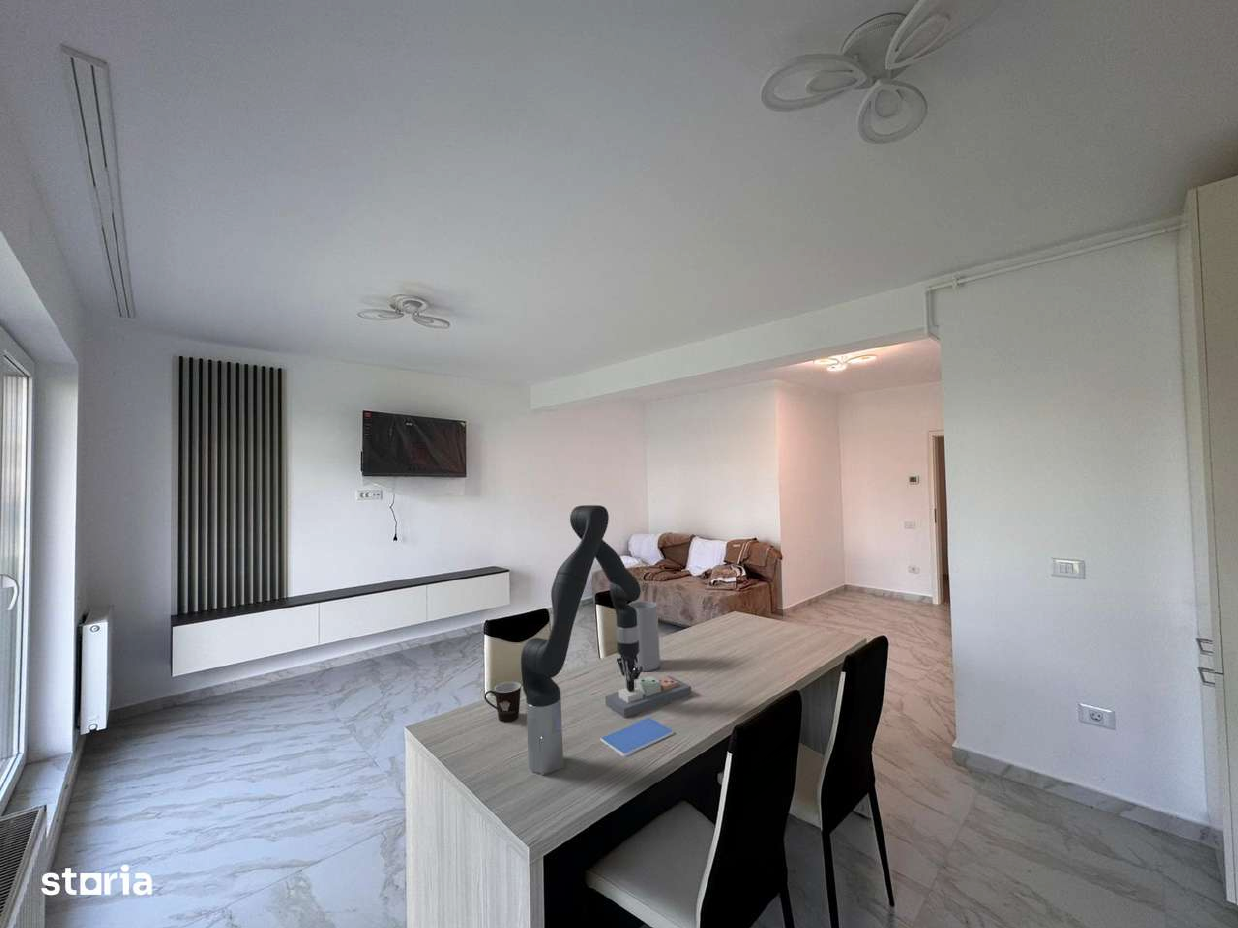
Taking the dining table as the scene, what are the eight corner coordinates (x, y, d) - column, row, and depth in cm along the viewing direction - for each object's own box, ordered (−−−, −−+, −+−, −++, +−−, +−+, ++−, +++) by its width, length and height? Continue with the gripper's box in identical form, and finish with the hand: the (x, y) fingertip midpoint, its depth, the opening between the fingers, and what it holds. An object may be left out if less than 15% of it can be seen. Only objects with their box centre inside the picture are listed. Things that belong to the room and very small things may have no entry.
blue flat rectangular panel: (624, 759, 133) (624, 754, 133) (598, 741, 143) (598, 737, 143) (676, 735, 144) (675, 730, 144) (649, 720, 154) (648, 716, 154)
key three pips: (678, 692, 171) (677, 681, 171) (664, 696, 168) (664, 685, 168) (667, 686, 176) (667, 676, 176) (654, 690, 173) (653, 680, 173)
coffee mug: (527, 714, 161) (526, 684, 161) (509, 726, 154) (508, 694, 154) (502, 708, 167) (500, 678, 167) (483, 719, 159) (482, 688, 160)
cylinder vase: (660, 660, 205) (657, 601, 206) (659, 671, 193) (656, 608, 194) (631, 660, 206) (628, 601, 208) (628, 672, 194) (625, 609, 195)
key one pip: (643, 702, 163) (642, 690, 163) (628, 707, 160) (627, 695, 160) (633, 696, 168) (632, 685, 168) (618, 700, 165) (618, 689, 165)
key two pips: (660, 691, 167) (660, 680, 167) (646, 696, 164) (646, 685, 164) (650, 686, 172) (650, 675, 172) (636, 690, 169) (636, 679, 169)
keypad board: (691, 694, 170) (690, 686, 170) (624, 718, 155) (624, 708, 155) (670, 684, 180) (670, 675, 180) (605, 704, 166) (605, 695, 166)
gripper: (648, 641, 161) (650, 693, 161) (626, 632, 173) (629, 681, 172) (629, 646, 157) (632, 700, 157) (608, 636, 169) (611, 686, 168)
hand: (630, 690), depth 164 cm, fingers closed
